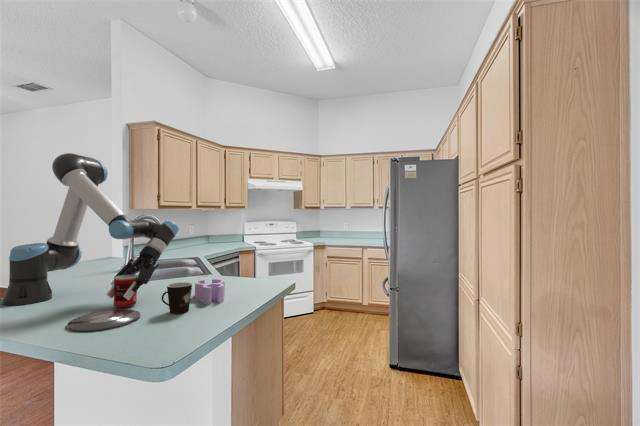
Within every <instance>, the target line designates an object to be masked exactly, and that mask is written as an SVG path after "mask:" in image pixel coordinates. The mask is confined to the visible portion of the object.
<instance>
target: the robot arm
mask: <svg viewBox="0 0 640 426" xmlns="http://www.w3.org/2000/svg"><path fill="white" fill-rule="evenodd" d="M51 166H52V167H51V169H52V172H53V174H54V176H55V178H56V179H58V181H59V182H60V183H61V184H63V186H65V187H68V190H67V192H66V195H65V198H64V202H63V205H62V208H61V211H60V213H59V217H58V220H57V222H56V226H55V229H54V233H53V235H52V236H51V237H49V238H47V239H46V240H47V241H46V242H35V243H34V242H33V243H26V244H21V245H17V246H14V247H11V249H10V253H9V257H8V259H9V277H8V278H9V279H8V280H9V282H8V286H7V288H6V291H5V293H4V295H3V298H2V305H4V306H19V305H20V306H22V305H30V304H35V303H36V304H37V303H40V302H44V301H49V300H51V299H53V291H52V288H51V286H50V284H49V281H48V273H49V272H54V271H63V270H67V269H69V268H70V269H71V268H72V267H74V266H76V265H77V264H78V263H79V262H80V260H81V259H82V254H83V253H82V251H81V247H80V246H79V245H80V243H79V241H78V236H79V233H80V230H81V226H82V224H83V221H84V217H85V214H86V211H87V208H88V207H89V208H90V209H91V210H92V211H93V212H94V213H95V214H96V215H97V216H98V218H100V219H101V220H102V221H103V222H104V223H105V224H106V226H108V233H109V235H110V237H111V238H113V239H114V240H128V239H137V238H145V239H149V240H148V241H147V243H145V245H144V247H142V249H141V251H139V256H138V257H137V258H136V259H132V258H131V259H129V260H128V262H127V263H126V264H125V265H124V266H123V268H121V269H120V270H119V272H118V273H117V274H116V275H114V277H113V279H114V278H115V277H116V276H120V275H134V274H135V273H136V272H138V271H139V272H138V275H137V281H136V280H135V281H136V282H137V283H136V282H134V283H133V284H132V285H131V286H130V288H129V289H128V290H127V292H126V293H125V294H124V296H123V297H124V298H126V299H127V300H130V298H131V297H132V296H133V294H134V293H135V292H136V291H137V292H138V290H139V288H140V287H141V286H143V285H147V284H148V283H149V281H150V279H151V277H152V276H153V274H154V272H155V270H156V268H158V267H159V265H160V264H159V263H158V260H159V259H160V257H161V255H163V253H164V252H165V251H166V249H167V248H168V246H169V245H170V243H171V242H172V241H173V239H175V237H176V235H177V234H178V233H179V226H178V224H177V223H175V222H174V221H172V220H165V221H163V222H162V223H157V222H154V221H150V220H146V219H144V218H137V217H135V218H133V219H132V220H131V219H130V218H129V217H128V216H127V215H126V214H125V213H124V212H123V211H122V210H121V208H119V207H118V206H117V204H115V203H114V202H113V201H112V200H111V199H110V198H109V197H108V196H107V194H105V193H104V192H103V191H102V190H101V189H100V188H99V185H100V184H101V185H102V184H103V183H104V182H106V180H107V178H108V168H107V166H106V165H105V164H104V163H103V162H102V161H101V160H98V159H96V158H93V157H90V156H84V155H79V154H76V153H73V152H72V153H68V152H67V153H66V152H65V153H63V154H60V155H58V156H57V157H55V159H54V160H53V162H52V165H51ZM106 296H107V297H109V298H110V299H114V283H112V286H111V288H110V289H109V290H108V291H107V292H106Z"/></svg>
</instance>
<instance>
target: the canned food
mask: <svg viewBox="0 0 640 426" xmlns="http://www.w3.org/2000/svg"><path fill="white" fill-rule="evenodd" d="M115 276H116V275H115ZM115 276H114V277H115ZM114 277H113V279H114V280H113V282H114V283H113V284H114V296H113V305H114V307H116V308H128V307H132V306H135V305H136V304H137V299H138V298H137V297H138V295H137V294H138V290H137V291H136V292H135V293H134V294H133V296H132V297H131V298H130V300H127V299H126V298H124V297H123V296H124V294H125V293H126V292H127V290H128V289H129V288H130V286H131V285H132V284H133V283H134V282H136V281H137V278H138V275H137V274H132V275H120V276H116V277H115V278H114ZM135 280H136V281H135ZM136 283H137V282H136Z"/></svg>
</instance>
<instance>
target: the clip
mask: <svg viewBox="0 0 640 426" xmlns="http://www.w3.org/2000/svg"><path fill="white" fill-rule="evenodd" d="M225 282H226V280H225V279H222V278H217V277H213V278H211V283H205V279H198V280H197V281H195V282H194V300H196V299H197V301H201V300H203V301H202V304H204V305H209V304H210V305H212V304H213V303H212V301H217V303H218V304H222V303H224V302H225V291H226V288H225V287H226V283H225Z"/></svg>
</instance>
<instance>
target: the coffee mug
mask: <svg viewBox="0 0 640 426" xmlns="http://www.w3.org/2000/svg"><path fill="white" fill-rule="evenodd" d="M192 287H193V283H192V282H188V281H187V282H183V281H182V282H173V283H169V284H167V285H166V291H164V292H163V293H162V294H161V302H162V303H164V305H166V306H168V308H169V313H170V315H182V314H186V313H188V312H189V311H190V303H191V296H192ZM166 294H167V299H168V302H166V301H165V298H164V297H165V296H166Z"/></svg>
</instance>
